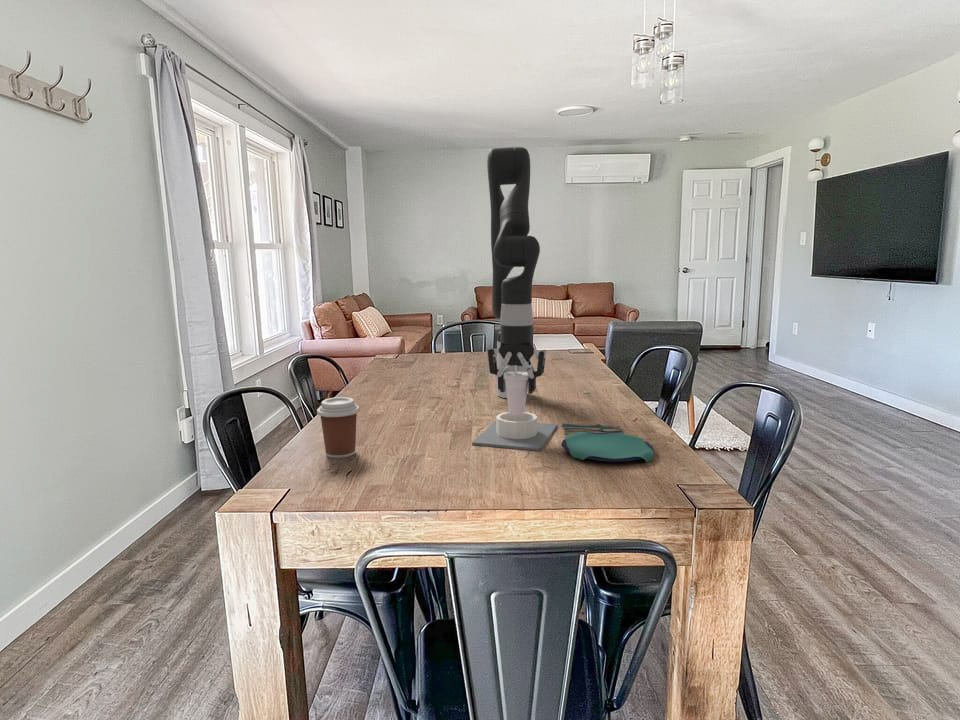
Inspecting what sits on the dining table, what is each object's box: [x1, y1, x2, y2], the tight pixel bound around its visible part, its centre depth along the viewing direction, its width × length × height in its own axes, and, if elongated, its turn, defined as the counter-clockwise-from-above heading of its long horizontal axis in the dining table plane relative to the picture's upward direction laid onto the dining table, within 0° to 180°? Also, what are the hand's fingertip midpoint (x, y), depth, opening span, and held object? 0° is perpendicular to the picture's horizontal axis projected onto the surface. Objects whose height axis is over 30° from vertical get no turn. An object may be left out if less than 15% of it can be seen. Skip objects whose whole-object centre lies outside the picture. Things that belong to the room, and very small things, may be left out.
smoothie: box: [503, 365, 530, 415], centre depth 138 cm, size 6×6×14 cm
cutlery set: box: [561, 422, 655, 464], centre depth 133 cm, size 20×30×2 cm, turn 177°
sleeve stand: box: [471, 411, 558, 452], centre depth 140 cm, size 20×16×5 cm
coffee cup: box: [316, 396, 360, 459], centre depth 128 cm, size 9×9×12 cm
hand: (516, 392), depth 139 cm, fingers closed on smoothie, 6 cm apart
